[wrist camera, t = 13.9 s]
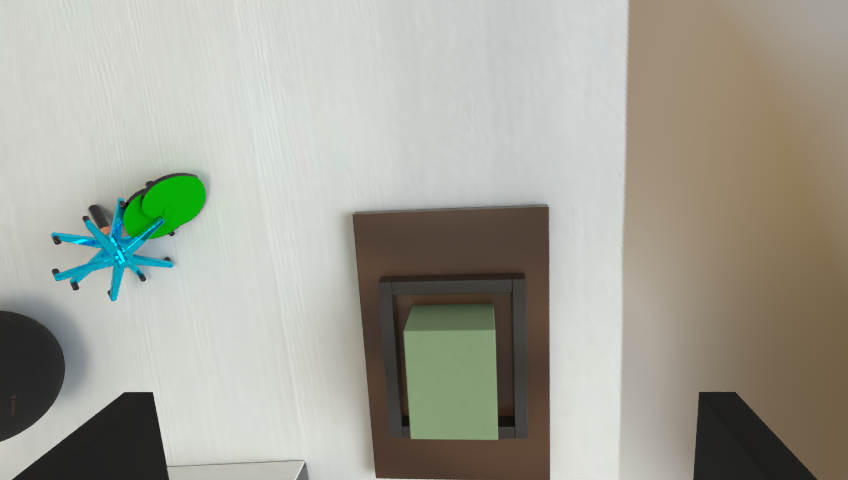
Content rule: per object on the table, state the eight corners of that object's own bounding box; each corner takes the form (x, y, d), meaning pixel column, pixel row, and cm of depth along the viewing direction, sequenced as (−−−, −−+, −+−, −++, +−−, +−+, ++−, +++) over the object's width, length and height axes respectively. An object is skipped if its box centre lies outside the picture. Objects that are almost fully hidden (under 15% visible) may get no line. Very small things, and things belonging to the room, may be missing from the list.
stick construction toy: (125, 319, 40) (27, 287, 34) (97, 263, 44) (3, 224, 37) (240, 211, 41) (166, 159, 34) (203, 164, 45) (129, 108, 38)
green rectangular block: (412, 304, 39) (403, 331, 34) (493, 303, 39) (495, 329, 34) (418, 401, 41) (410, 439, 36) (495, 401, 40) (498, 440, 35)
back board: (355, 211, 39) (347, 218, 37) (547, 204, 37) (551, 210, 35) (378, 470, 44) (372, 491, 41) (548, 473, 42) (552, 494, 40)
